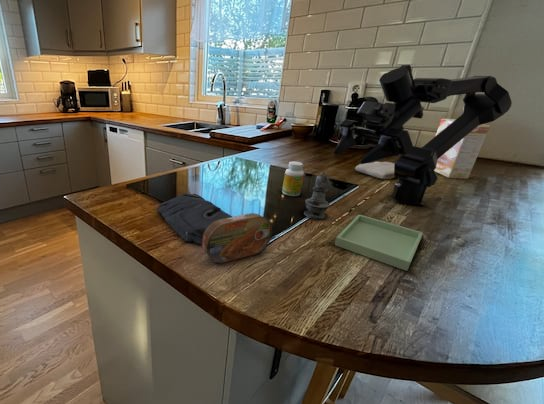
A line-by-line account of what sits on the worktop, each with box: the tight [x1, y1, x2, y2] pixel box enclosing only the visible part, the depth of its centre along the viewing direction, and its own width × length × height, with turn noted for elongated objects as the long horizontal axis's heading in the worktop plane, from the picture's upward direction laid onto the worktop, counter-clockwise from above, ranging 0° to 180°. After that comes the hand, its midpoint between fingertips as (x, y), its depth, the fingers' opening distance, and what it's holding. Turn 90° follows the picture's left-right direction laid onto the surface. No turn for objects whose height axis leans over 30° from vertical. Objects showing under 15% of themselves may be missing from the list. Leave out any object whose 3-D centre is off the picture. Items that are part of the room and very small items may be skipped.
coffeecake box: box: [434, 118, 491, 180], centre depth 112 cm, size 15×7×20 cm, turn 172°
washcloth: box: [354, 160, 396, 180], centre depth 113 cm, size 12×18×3 cm, turn 114°
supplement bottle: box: [281, 161, 305, 197], centre depth 91 cm, size 5×5×10 cm
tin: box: [201, 212, 273, 264], centre depth 59 cm, size 15×3×8 cm, turn 114°
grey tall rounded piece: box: [303, 171, 331, 220], centre depth 76 cm, size 6×6×12 cm
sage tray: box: [334, 214, 424, 272], centre depth 65 cm, size 16×13×2 cm
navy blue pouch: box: [156, 193, 233, 246], centre depth 73 cm, size 15×22×5 cm
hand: (347, 157), depth 76 cm, fingers open, 9 cm apart
